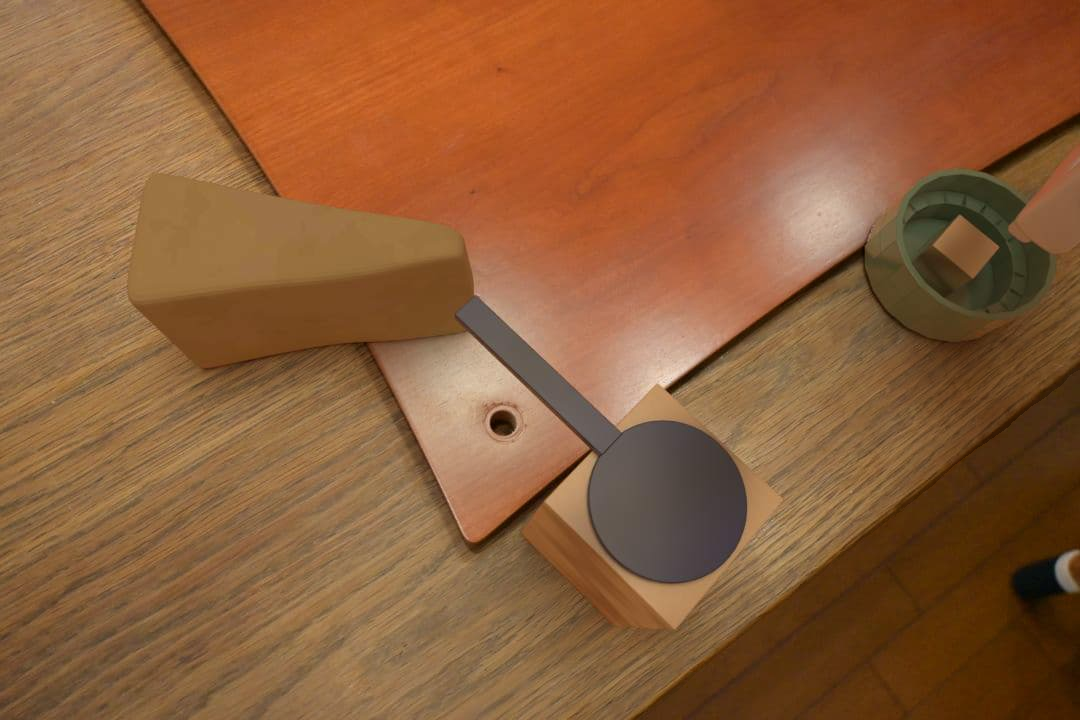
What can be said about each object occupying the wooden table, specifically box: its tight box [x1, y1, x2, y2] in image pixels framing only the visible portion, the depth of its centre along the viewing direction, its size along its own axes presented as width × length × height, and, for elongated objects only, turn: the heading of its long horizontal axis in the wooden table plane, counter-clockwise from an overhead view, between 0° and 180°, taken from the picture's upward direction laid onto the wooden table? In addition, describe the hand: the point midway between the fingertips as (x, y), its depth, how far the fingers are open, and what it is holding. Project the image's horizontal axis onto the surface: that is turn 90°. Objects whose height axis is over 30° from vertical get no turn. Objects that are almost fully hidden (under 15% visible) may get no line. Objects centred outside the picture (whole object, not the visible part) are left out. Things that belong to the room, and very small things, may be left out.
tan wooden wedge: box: [126, 172, 475, 369], centre depth 58 cm, size 22×10×15 cm, turn 91°
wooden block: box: [911, 215, 999, 298], centre depth 70 cm, size 4×4×4 cm
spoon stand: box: [455, 294, 785, 631], centre depth 54 cm, size 21×10×19 cm, turn 47°
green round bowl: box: [864, 167, 1058, 343], centre depth 69 cm, size 14×14×6 cm
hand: (1051, 192), depth 58 cm, fingers open, 8 cm apart
